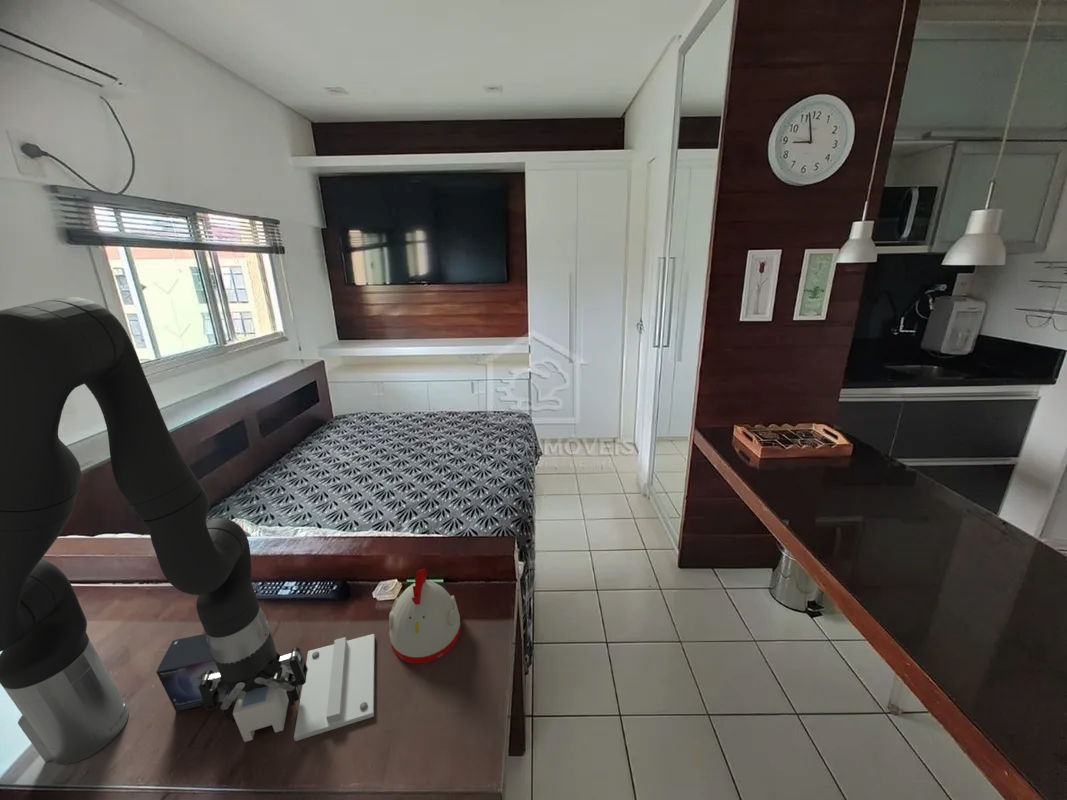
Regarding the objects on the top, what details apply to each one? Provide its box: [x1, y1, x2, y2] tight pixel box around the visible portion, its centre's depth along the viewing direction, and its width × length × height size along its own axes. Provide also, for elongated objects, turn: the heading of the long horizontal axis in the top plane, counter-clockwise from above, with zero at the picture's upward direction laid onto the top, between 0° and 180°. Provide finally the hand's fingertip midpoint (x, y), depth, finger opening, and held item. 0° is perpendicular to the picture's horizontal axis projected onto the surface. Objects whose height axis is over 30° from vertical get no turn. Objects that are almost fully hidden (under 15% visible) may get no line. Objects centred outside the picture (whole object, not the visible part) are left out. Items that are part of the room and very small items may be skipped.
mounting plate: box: [293, 633, 376, 742], centre depth 79 cm, size 12×16×3 cm
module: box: [233, 673, 290, 743], centre depth 73 cm, size 6×7×7 cm
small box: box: [155, 633, 238, 713], centre depth 76 cm, size 11×6×10 cm, turn 105°
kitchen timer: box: [388, 568, 462, 664], centre depth 86 cm, size 14×14×15 cm
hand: (266, 708), depth 74 cm, fingers open, 8 cm apart
